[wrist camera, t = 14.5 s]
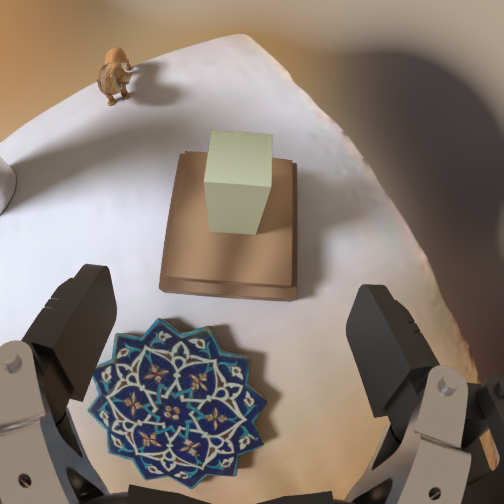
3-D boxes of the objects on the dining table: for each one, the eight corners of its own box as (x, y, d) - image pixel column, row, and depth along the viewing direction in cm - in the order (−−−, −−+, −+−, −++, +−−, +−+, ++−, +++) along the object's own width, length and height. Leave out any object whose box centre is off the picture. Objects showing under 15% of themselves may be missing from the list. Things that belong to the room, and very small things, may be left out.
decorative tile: (201, 503, 25) (200, 513, 23) (70, 407, 27) (61, 411, 24) (300, 387, 30) (305, 391, 28) (157, 285, 32) (152, 281, 30)
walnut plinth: (164, 292, 31) (154, 285, 27) (182, 166, 36) (178, 144, 31) (289, 301, 32) (301, 296, 28) (291, 175, 37) (300, 154, 32)
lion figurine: (141, 109, 38) (129, 66, 29) (109, 121, 37) (91, 80, 28) (130, 61, 41) (121, 24, 32) (103, 71, 40) (91, 35, 31)
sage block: (209, 231, 28) (203, 181, 19) (214, 190, 30) (211, 129, 20) (255, 234, 29) (271, 187, 19) (257, 193, 30) (272, 134, 20)
